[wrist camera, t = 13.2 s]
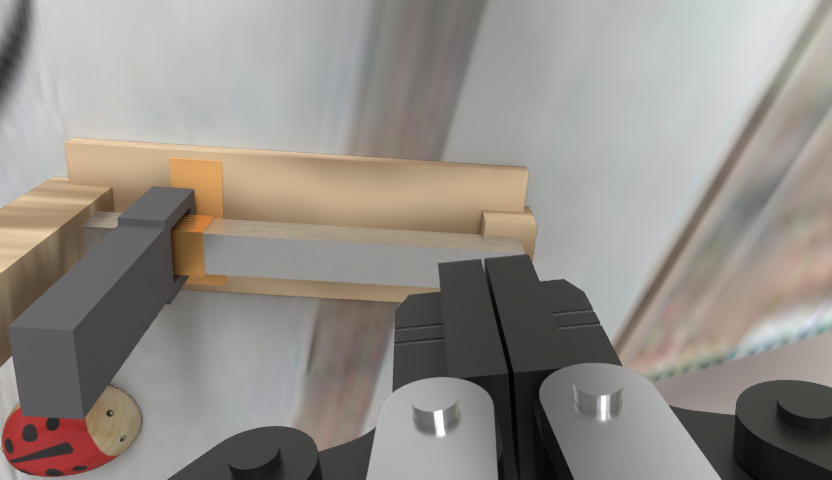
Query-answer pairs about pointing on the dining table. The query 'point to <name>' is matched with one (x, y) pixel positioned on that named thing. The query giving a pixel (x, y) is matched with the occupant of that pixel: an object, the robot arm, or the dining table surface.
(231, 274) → the silver metal bar
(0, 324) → the wooden track with post
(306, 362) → the dining table surface
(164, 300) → the dark gray slab
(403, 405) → the robot arm
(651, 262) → the dining table surface
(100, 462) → the ladybug figurine
